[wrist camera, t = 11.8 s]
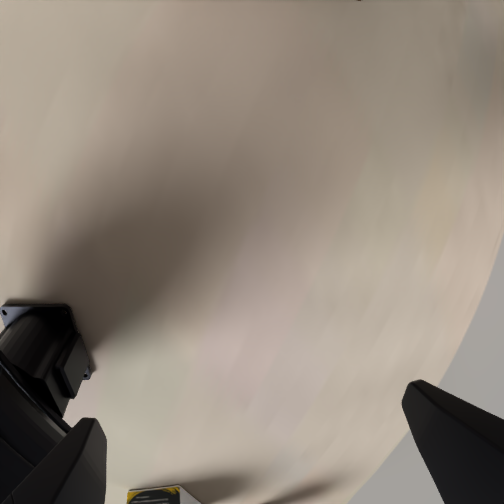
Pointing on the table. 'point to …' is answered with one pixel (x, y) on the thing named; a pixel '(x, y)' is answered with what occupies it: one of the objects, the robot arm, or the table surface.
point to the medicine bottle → (161, 496)
